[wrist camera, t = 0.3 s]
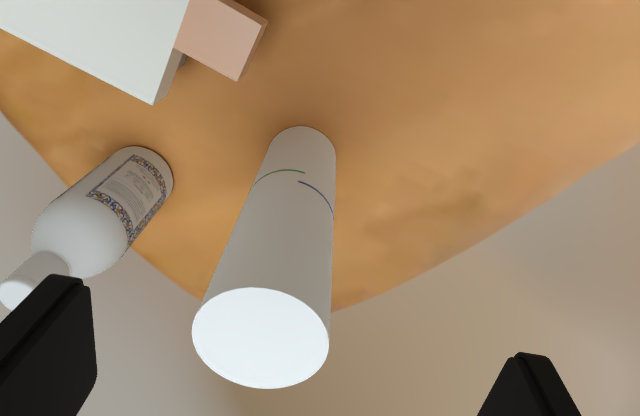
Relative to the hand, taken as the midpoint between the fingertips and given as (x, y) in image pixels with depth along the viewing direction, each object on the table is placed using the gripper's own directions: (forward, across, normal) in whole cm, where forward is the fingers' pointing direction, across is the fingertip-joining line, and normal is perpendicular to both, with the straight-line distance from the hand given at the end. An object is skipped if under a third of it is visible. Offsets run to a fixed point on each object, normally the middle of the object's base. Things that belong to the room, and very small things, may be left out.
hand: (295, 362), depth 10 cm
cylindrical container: (+35, +1, +9) cm, 36 cm away
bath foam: (+35, +18, +14) cm, 42 cm away
